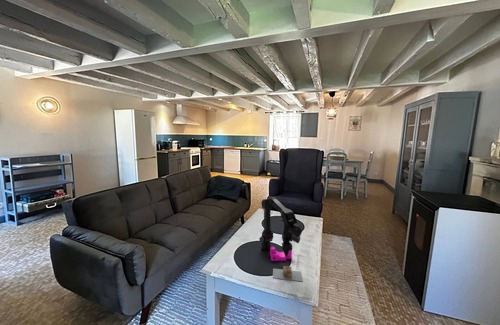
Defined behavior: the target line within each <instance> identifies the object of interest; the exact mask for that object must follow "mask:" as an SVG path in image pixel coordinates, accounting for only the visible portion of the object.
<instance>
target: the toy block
mask: <svg viewBox="0 0 500 325" xmlns="http://www.w3.org/2000/svg"><path fill="white" fill-rule="evenodd" d="M269 256H270V261H271V262H273V261H276V262H277V261H281V262H283V261H287V259H289V260H290V259H292V258H293V257H292V256H293V249H292V250H289V253H288V255H287V257H286V256H285V254H284V251H278V250H276V248H275V245H274V246H270V251H269Z"/></svg>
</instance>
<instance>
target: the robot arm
mask: <svg viewBox="0 0 500 325" xmlns="http://www.w3.org/2000/svg"><path fill="white" fill-rule="evenodd" d="M260 203H261V209H262V210H263V231H262V232H261V236H260V237H259V238H258V239H259V242H260V243H261V246H260V247H261V249H260V251H264V252H270V247H271V242H272V241H273V240H274V232H273V231H272V228H271V219H272V218H271V211H272V209H273V207H274V208H275V210H277V211H278V213H280V217H281V222H282V223H283V225H282V226H283V227H282V232H281V240H282V243H281V250H282V252H284V254H285V256H286V257H287V255H288V253H289V250H292V251H293V244H292V242H295V243H297V244H299V243H300V241H301V238H302V237H301V235H302V233H303V231H302V228H300V225H298V220H297V217H296V215H295V212H294V211H293V210H292V209H289V208H287V207H285V206H284V205H283V203H281V202H280V200H278V198H277V197H270V198H265V199H262V200H261V202H260Z"/></svg>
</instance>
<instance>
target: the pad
mask: <svg viewBox="0 0 500 325" xmlns="http://www.w3.org/2000/svg"><path fill="white" fill-rule="evenodd" d="M302 274H303V273H302V271H300V270H292V278H291V277H283V269H282V268H272V279H276V280H286V281H294V282H295V281H296V282H300V283H301V282H304V281H303V280H304V279H303V276H302Z"/></svg>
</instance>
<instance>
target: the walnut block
mask: <svg viewBox="0 0 500 325" xmlns="http://www.w3.org/2000/svg"><path fill="white" fill-rule="evenodd" d="M282 270H283V277H291V278H292V271H293V269H292V266H289V265H283V269H282Z"/></svg>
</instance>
